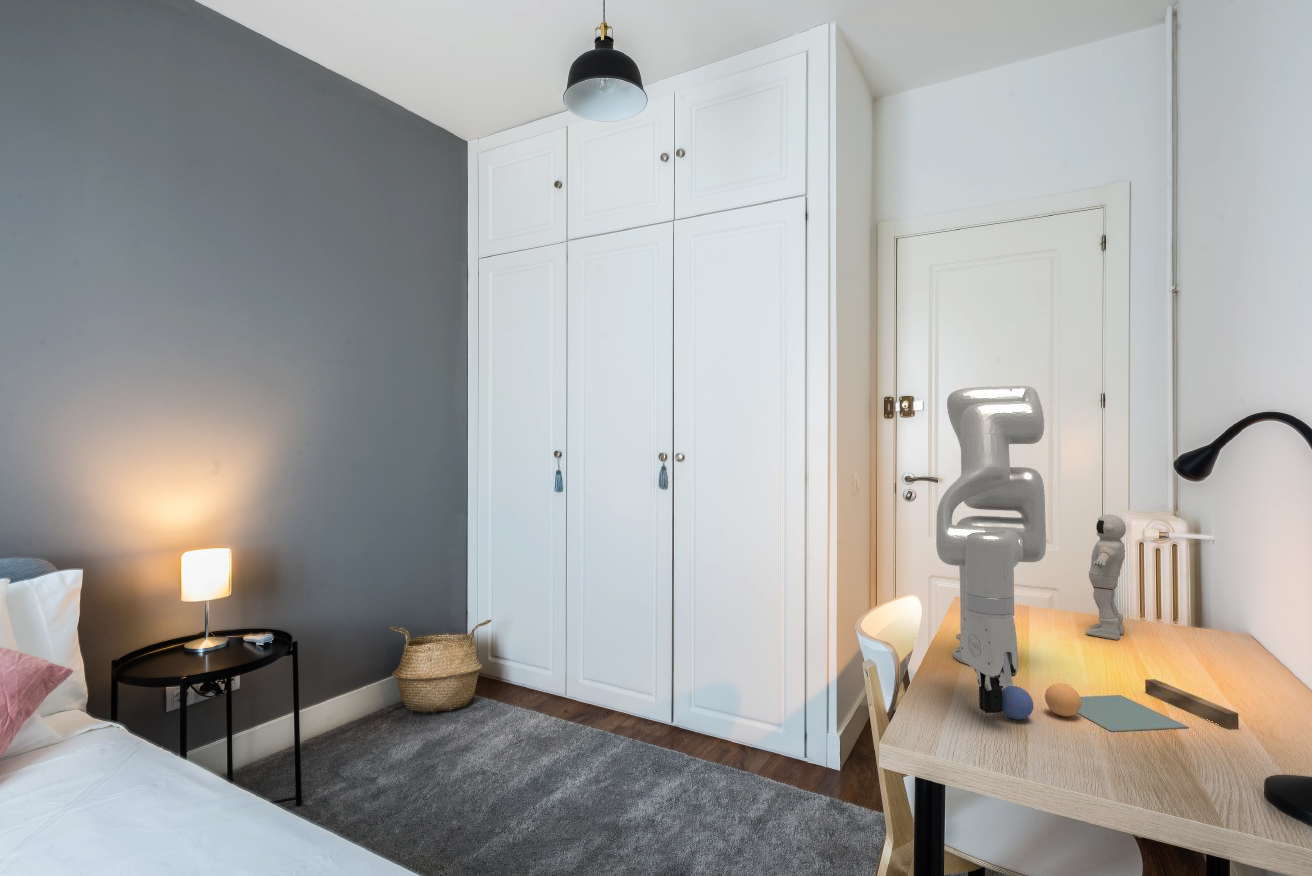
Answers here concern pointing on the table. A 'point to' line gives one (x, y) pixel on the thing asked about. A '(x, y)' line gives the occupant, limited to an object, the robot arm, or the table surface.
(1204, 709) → the rail
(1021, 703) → the blue ball
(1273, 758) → the table surface
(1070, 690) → the orange ball
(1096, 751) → the table surface
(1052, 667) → the table surface
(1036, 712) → the table surface
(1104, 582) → the toy
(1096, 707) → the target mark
